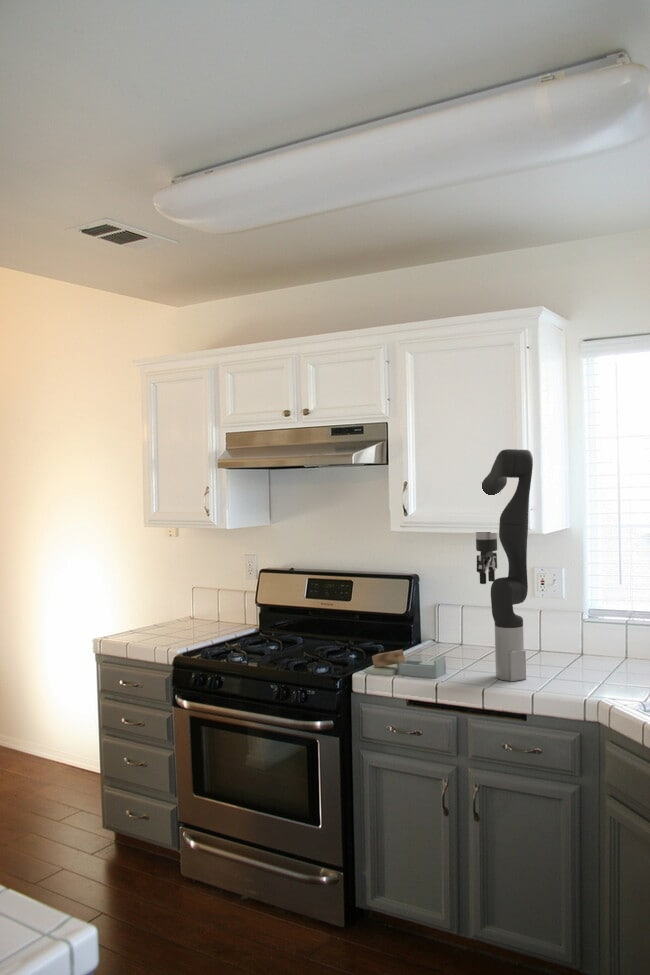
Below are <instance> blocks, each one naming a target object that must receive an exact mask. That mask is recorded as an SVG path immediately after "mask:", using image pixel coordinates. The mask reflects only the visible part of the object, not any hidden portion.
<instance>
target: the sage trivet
mask: <svg viewBox="0 0 650 975" xmlns="http://www.w3.org/2000/svg"><path fill="white" fill-rule="evenodd" d="M364 670H365V671H364V673H366V674H373V675H374V674H375V675H384V676H394V675H395V674H396V675H397V664H393V665H388V666H382V667H377V668H374V665H372V666H369V667H367V668H365V669H364Z"/></svg>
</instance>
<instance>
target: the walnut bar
mask: <svg viewBox="0 0 650 975" xmlns="http://www.w3.org/2000/svg"><path fill="white" fill-rule="evenodd" d="M371 659H372V660H371V661H372V664H373V666H374V668H377V667H382V666H388V665H397V664H399V663H401V662H404V661H405V660H406V658H405V655H404V650H403V649H397V650H391V651H386V652H383V653H382V652H381V653H377V654H374V655H372V656H371Z"/></svg>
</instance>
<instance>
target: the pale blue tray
mask: <svg viewBox="0 0 650 975" xmlns="http://www.w3.org/2000/svg"><path fill="white" fill-rule="evenodd" d="M396 665H397V673H396V675H401V676H408V677H410V676H411V677H417V678H419V677H420V678H428V679H438V678H440V677H442V676H443V675H446V674H447V669H446V668H447V666H446V655H442V656H440V657H438V658H436V659H434V660H423V661H422V660H413V659H405V661H404V662H401V663H399V664H396Z"/></svg>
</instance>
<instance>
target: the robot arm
mask: <svg viewBox="0 0 650 975" xmlns="http://www.w3.org/2000/svg"><path fill="white" fill-rule="evenodd" d="M533 459H534V458H533V455H532V452H531V451H530V450H529V449H516V448H515V449H514V448H513V449H510V448H509V449H507V448H506V449H502V450H500V451H499V452H498V454H497V456H496V457H495V460H494V462H493V464H492V467H491V469H490V471H489V473H488V474H487V476H485V478H484V479H483V481H482V482H481V483H482V489H483V491H484V492H485V493H486V494H488V495H495V494H497V493H499V492H500V493H501V491H502V490H503V489H504V488H505V487H506V486H507V482H508V478H511V479H512V478H513V479H514V478H516V479H518V481H517V486H516V489H515V491H514V494H513V496H512V497H511V499H510V500H509V501H508V503H507V505H505V507H504V509H503V510H502V512H501V514H500V517H499V524H498V525H499V527H498V529H499V530H498V532H497V533H491V532H476V531H475V548H476V551H477V552H480V553H479V555H478V554H477V555H476V572H477V573H478V574H479V585H480V584H481V585H486V584H487V579H488V582H492V584H491V587H490V603H491V605H490V606H491V615H492V618H493V621H494V646H495V647H494V649H495V650H494V654H495V655H494V656H495V657H494V658H495V678H496V679H498V680H502V681H509V682H516V681H523V680H526V679H527V661H526V660H527V657H526V655H527V654H526V649H525V646H524V639H525V638H524V618H523V617H522V616H521V615H518V614H516V613H515V611H514V606H513V605H519V604H522V603H524V602H525V600H526V599H527V596H528V593H529V592H528V591H529V590H528V589H529V584H528V569H527V566H528V565H527V564H528V563H527V562H528V561H527V560H528V559H527V557H528V556H527V555H528V553H527V552H528V534H529V506H530V492H531V487H532V486H531V485H532V479H533V478H532V476H533V467H534V460H533ZM498 538H499V541H500V543H501V544H500V545H501V547H502V549H503V551H504V552H505V554H506V556H507V561H508V575H507V576H504V577H498V578H496V575H495V573H496V569H498V554H497V552H496V551H497V550H498ZM487 570H488V572H487ZM487 573H488V574H487ZM487 575H488V578H487ZM495 578H496V579H495Z"/></svg>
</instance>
